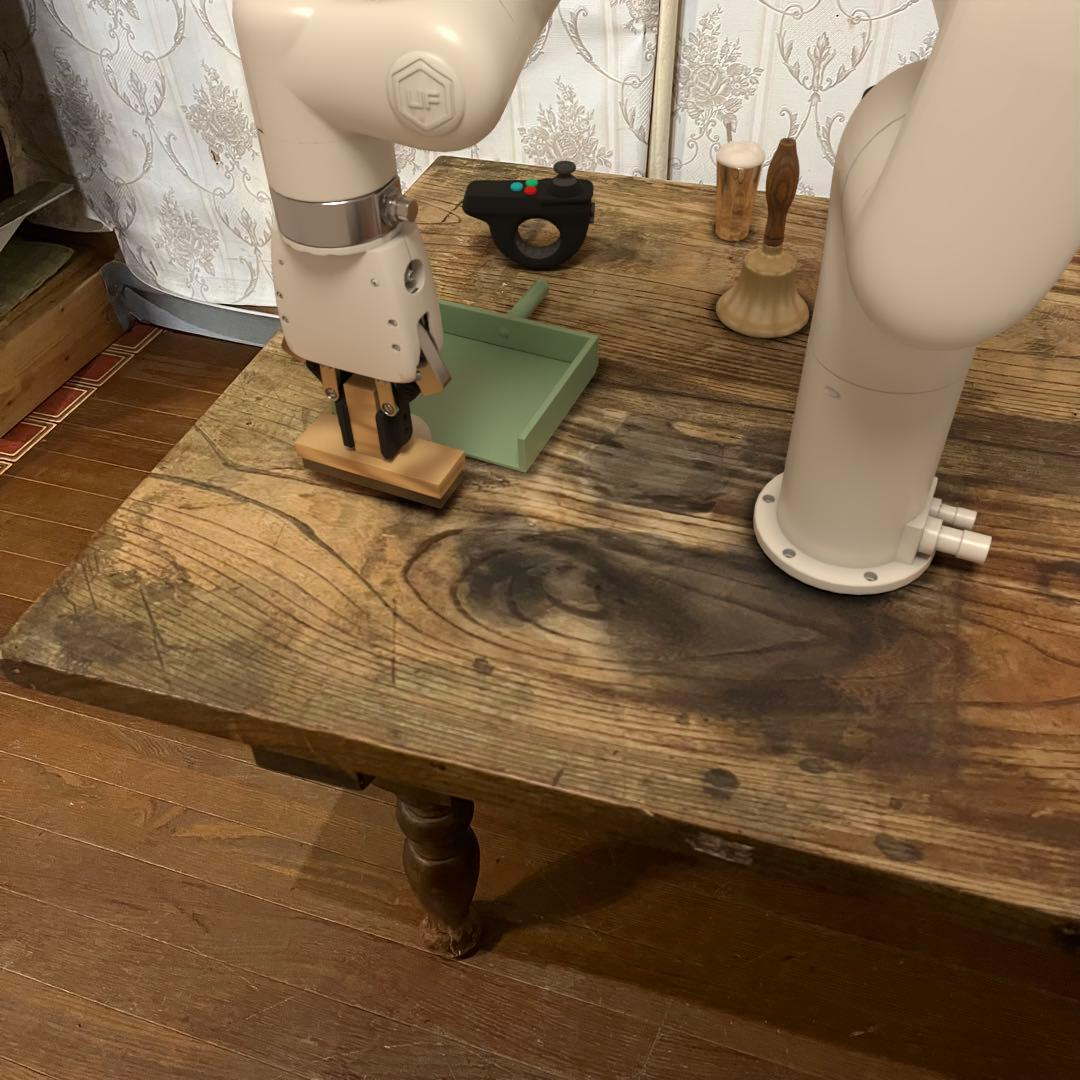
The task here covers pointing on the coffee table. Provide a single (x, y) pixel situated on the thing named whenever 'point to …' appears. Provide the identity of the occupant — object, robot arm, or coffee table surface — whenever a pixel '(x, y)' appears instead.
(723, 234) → the milkshake
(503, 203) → the controller
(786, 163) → the hand bell
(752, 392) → the coffee table surface
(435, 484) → the brush
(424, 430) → the white ball
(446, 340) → the dustpan
